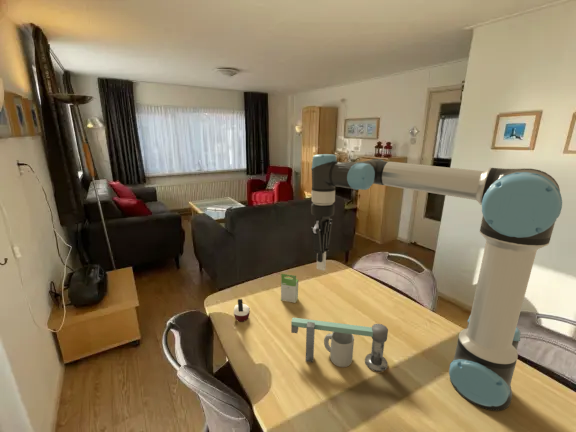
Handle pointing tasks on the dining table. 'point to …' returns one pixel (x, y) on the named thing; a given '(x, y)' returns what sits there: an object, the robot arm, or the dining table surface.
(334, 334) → the cup
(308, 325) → the post
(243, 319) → the cocoa
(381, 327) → the bar
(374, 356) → the grey flanged post
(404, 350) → the dining table surface
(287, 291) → the ink box
